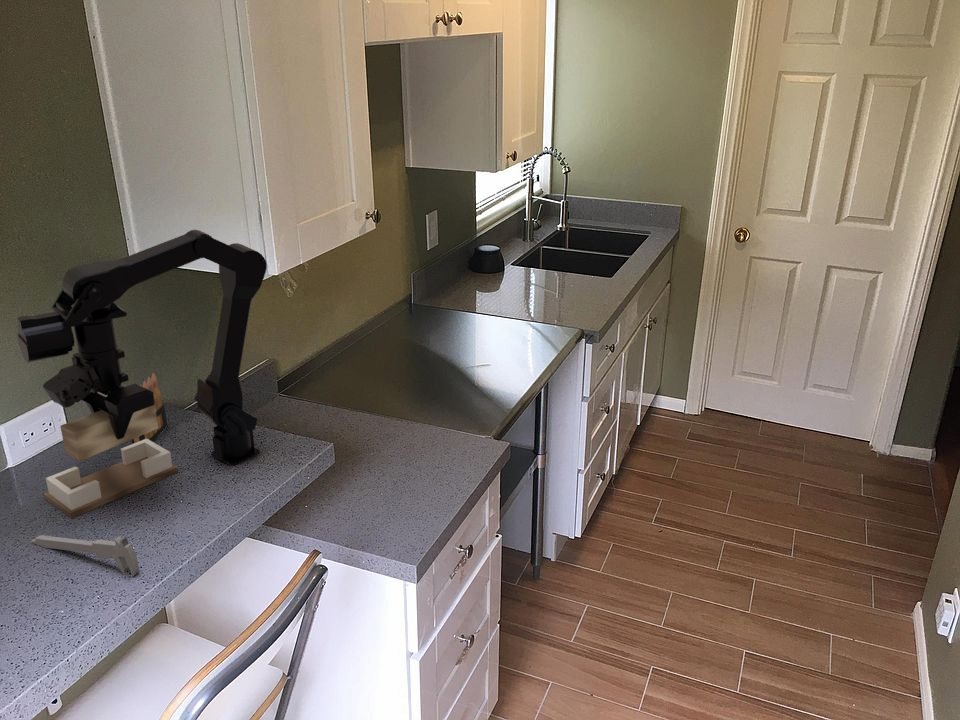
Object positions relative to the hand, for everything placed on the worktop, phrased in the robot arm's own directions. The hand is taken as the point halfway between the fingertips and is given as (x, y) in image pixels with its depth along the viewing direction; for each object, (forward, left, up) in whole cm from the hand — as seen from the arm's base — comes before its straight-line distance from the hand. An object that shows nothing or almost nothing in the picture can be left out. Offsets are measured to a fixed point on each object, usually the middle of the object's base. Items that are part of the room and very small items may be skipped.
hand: (112, 434), depth 129 cm
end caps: (0, -3, -11) cm, 11 cm away
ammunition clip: (-13, -13, -11) cm, 22 cm away
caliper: (+13, +12, -12) cm, 21 cm away
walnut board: (0, -3, -11) cm, 11 cm away
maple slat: (0, 0, -1) cm, 1 cm away
